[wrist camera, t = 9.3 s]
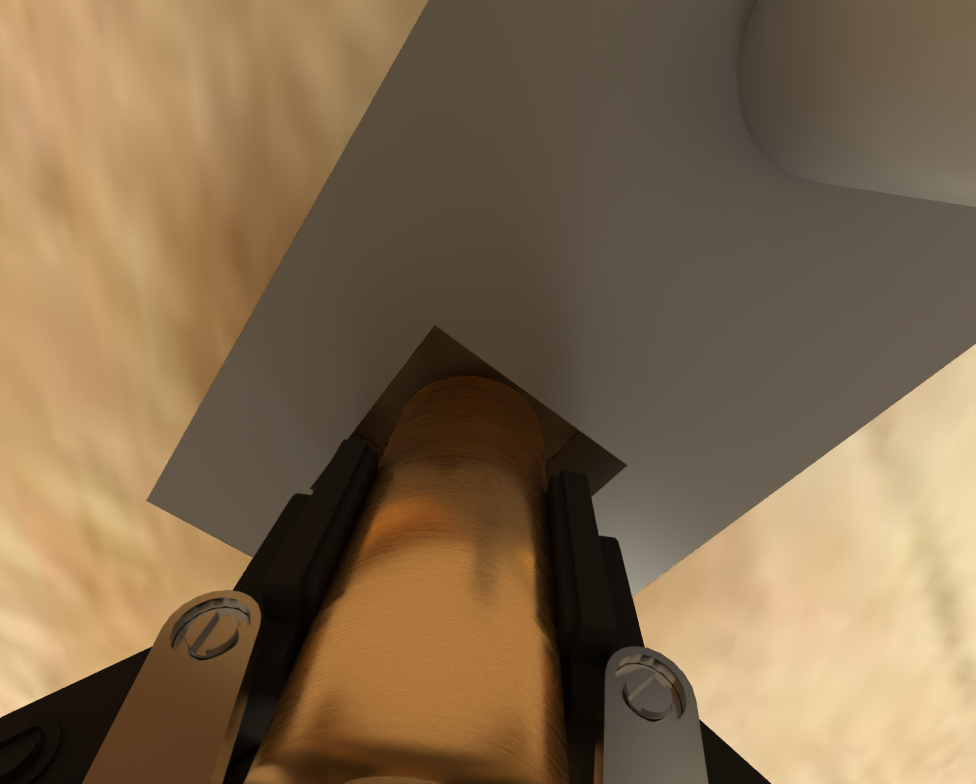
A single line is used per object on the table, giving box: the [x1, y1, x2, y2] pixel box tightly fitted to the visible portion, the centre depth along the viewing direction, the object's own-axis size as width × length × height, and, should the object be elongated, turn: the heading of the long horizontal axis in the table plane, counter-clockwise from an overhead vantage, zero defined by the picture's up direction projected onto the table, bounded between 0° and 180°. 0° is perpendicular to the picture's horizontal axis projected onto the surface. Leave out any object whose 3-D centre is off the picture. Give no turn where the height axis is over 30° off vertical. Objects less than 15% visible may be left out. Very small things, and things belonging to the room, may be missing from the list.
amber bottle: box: [244, 375, 570, 784], centre depth 9 cm, size 4×4×10 cm
